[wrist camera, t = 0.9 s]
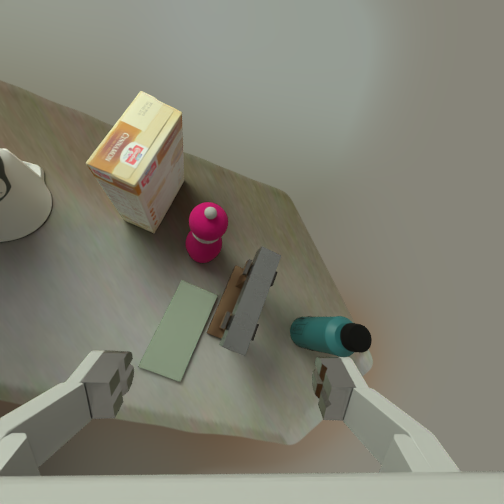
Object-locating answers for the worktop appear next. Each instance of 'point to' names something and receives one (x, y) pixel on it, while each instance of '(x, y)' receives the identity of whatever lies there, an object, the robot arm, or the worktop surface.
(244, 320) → the rail
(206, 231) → the pepper mill
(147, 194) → the coffeecake box
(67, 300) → the worktop surface
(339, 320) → the beverage bottle
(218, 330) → the stand
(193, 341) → the mat
